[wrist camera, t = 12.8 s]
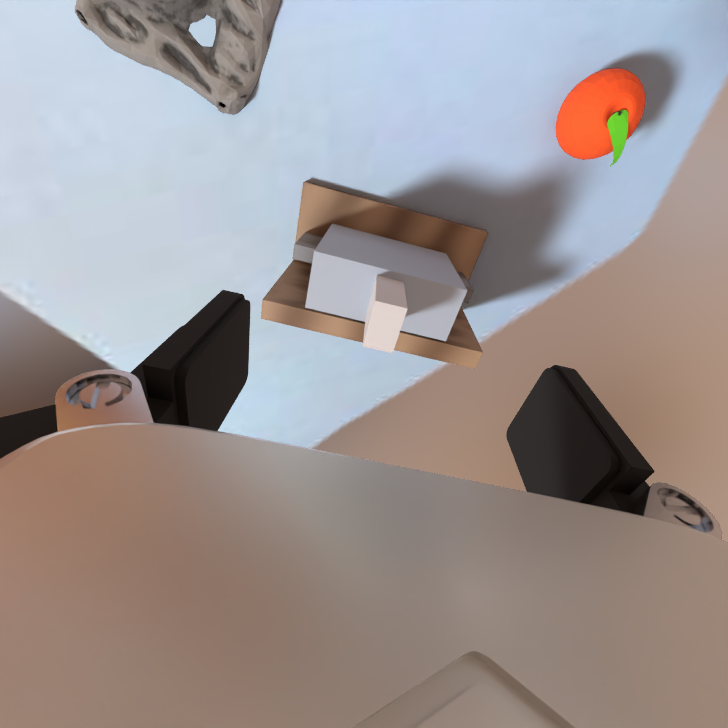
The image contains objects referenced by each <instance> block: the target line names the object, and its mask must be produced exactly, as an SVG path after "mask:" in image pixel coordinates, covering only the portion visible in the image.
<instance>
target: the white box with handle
mask: <svg viewBox="0 0 728 728" xmlns="http://www.w3.org/2000/svg"><path fill="white" fill-rule="evenodd" d="M466 293H467V288H466V287H465V285H464V283H463V282H462V280H461V278H460V276H459V275H458V273H457V271H456V270H455V268H454V266H453V264H452V263H451V261H450V259H449V258H448V256H447V254H446V253H442V252H438V251H435V250H431V249H427V248H423V247H420V246H416V245H412V244H408V243H404V242H401V241H397V240H393V239H389V238H385V237H382V236H378V235H374V234H370V233H367V232H363V231H359V230H355V229H351V228H348V227H344V226H340V225H336V224H332V225H331V226H330V228H329V229H328V231H327V232H326V234H325V235H324V237H323V238H322V240H321V241H320V243H319V244H318V246H317V247H316V249H315V250H314V255H313V261H312V267H311V274H310V280H309V286H308V292H307V299H306V305H305V308H309V309H313V310H318V311H322V312H326V313H330V314H334V315H338V316H342V317H347V318H351V319H355V320H359V321H363V322H365V329H364V338H363V346H364V347H368V348H373V349H377V350H381V351H385V352H390V353H393V351H394V348H395V345H396V342H397V339H398V336H399V333H400V330H401V331H405V332H409V333H413V334H417V335H421V336H425V337H430V338H434V339H438V340H442V341H446V340H447V338H448V335H449V333H450V331H451V328H452V326H453V323H454V321H455V319H456V316H457V314H458V312H459V309H460V307H461V305H462V302H463V300H464V297H465V295H466Z"/></svg>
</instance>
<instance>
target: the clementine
mask: <svg viewBox="0 0 728 728" xmlns="http://www.w3.org/2000/svg"><path fill="white" fill-rule="evenodd" d="M644 107H645V92H644V88H643V85H642V84H641V82H640V80H639V79H638V78H637V77H636V76H635V75H634V74H633V73H631V72H630V71H628V70H624V69H619V68H614V69H605V70H601V71H599V72H596V73H594V74H592V75H590V76H589V77H587V78H586V79H584V80H583V81H581V82H580V83H579V84H577V85H576V86H575V87H574V89H573V90H572V91H571V92H570V93H569V94H568V96H567V97H566V99H565V100H564V102H563V104H562V106H561V108H560V111H559V113H558V116H557V122H556V137H557V140H558V143H559V145H560V147H561V148H562V149H563V150H564V152H566V153H567V154H569V155H570V156H572V157H574V158H578V159H583V160H585V159H594V158H598V157H601V156H604V155H607V154H609V153H610V152H612V151H613V153H614V159H613V163H612V164H611V165H613V164H614V163H615V162H616V161H617V160H618V158H619V157H620V156H621V153H622V151H623V148H624V145H625V142H626V140H627V139H628V138H629V137H630V136H631V134H632V133H633V132H634V130H635V129H636V128H637V126H638V124H639V122H640V120H641V118H642V115H643V111H644ZM611 165H610V166H611Z"/></svg>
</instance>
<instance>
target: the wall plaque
mask: <svg viewBox="0 0 728 728" xmlns="http://www.w3.org/2000/svg"><path fill="white" fill-rule="evenodd" d="M280 3H281V0H77V4H76V6H75V13H76V14H77V16H78V18H79V19H80V21H81V23H82V24H83V25H84V26H85V27H86V28H87V29H89V30H91V31H92V32H93V33H95V34H96V35H97V36H98V37H99V38H100V39H101V40H102V41H103V42H104V43H105V44H106V45H107V46H108V47H110V48H111V49H113V50H114V51H116V52H118V53H121V54H123V55H125V56H126V57H128V58H130V59H132V60H134V61H136V62H138V63H140V64H142V65H145V66H149V67H152V68H154V69H157V70H159V71H161V72H163V73H165V74H168V75H170V76H172V77H174V78H175V79H177V80H180V81H181V82H182V83H184V84H185V85H187V86H189V87H190V88H192V89H193V90H194V91H196V92H197V93H198V94H200V95H201V96H203V97H204V98H205V99H207V100H208V101H209V102H210V103H212V104H213V105H215V106H216V107H217V108H218V110H219V111H220V112H222V113H228V114H233V115H234V114H237V113H238V112H239V111H240V110H241V109H243V108H244V106H245V102H246V101H247V99H248V98H249V97H250V95H251V94H252V92H253V90H254V88H255V86H256V84H257V82H258V79H259V76H260V73H261V70H262V67H263V64H264V61H265V58H266V55H267V51H268V48H269V36H270V32H271V30H272V27H273V24H274V20H275V18H276V15H277V12H278V9H279V6H280ZM206 14H207V15H208V16H210V17H212V18H214V19H216V36H215V41H214V44H213V47H204V46H201V45H200V44H199V43H198V42H197V41H196V40H195V38H194V37H193V36H192V35H191V33H190V32H189V31H188V30H189V27H190V24H191V23H193V22H197V21H199V20H201V19H203V18H205V16H206ZM85 19H86V20H85ZM219 102H222V103H223V104H225V105H226V107H225V108H223V107H221V106H220V105H219Z"/></svg>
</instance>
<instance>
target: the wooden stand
mask: <svg viewBox="0 0 728 728" xmlns="http://www.w3.org/2000/svg"><path fill="white" fill-rule="evenodd" d="M332 224H336V225H340V226H344V227H348V228H351V229H355V230H359V231H363V232H367V233H370V234H374V235H378V236H382V237H385V238H389V239H393V240H397V241H401V242H404V243H408V244H412V245H416V246H420V247H423V248H427V249H431V250H435V251H438V252H442V253H446V254H447V256H448V258H449V259H450V261H451V263H452V264H453V266H454V268H455V270H456V271H457V273H458V275H459V276H460V278H461V280H462V282H463V283H464V285H465V287H466V288H467V293H466V295H465V297H464V300H463V302H466V303H468V302H469V299H470V297H471V295H472V292H473V288H472V287H471V285H470V283H469V282H468V280H469V278H470V275H471V273H472V270H473V268H474V266H475V263H476V261H477V258H478V256H479V254H480V251H481V249H482V246H483V244H484V242H485V239H486V237H487V234H488V232H487V231H484V230H481V229H477V228H473V227H470V226H466V225H462V224H459V223H455V222H451V221H448V220H444V219H440V218H437V217H433V216H429V215H426V214H422V213H418V212H415V211H411V210H407V209H404V208H400V207H396V206H393V205H389V204H385V203H382V202H378V201H374V200H371V199H367V198H363V197H360V196H356V195H352V194H349V193H345V192H341V191H338V190H334V189H331V188H327V187H323V186H320V185H316V184H312V183H309V182H303V189H302V196H301V204H300V212H299V219H298V227H297V235H296V242H295V244H294V252H293V261H292V263H291V264H290V265H289V267H288V268H287V269H286V270H285V272H284V273H283V274H282V276H281V277H280V278H279V279H278V281H277V282H276V283H275V284H274V286H273V287H272V288H271V290H270V291H269V292H268V293H267V295H266V296H265V297H264V298H263V301H262V312H261V319H265V320H270V321H274V322H278V323H282V324H286V325H291V326H295V327H299V328H303V329H308V330H312V331H316V332H320V333H325V334H329V335H333V336H337V337H342V338H346V339H350V340H354V341H359V342H363V338H364V329H365V322H363V321H359V320H355V319H351V318H347V317H342V316H338V315H334V314H330V313H326V312H322V311H318V310H313V309H309V308H305V305H306V299H307V292H308V286H309V280H310V274H311V267H312V261H313V255H314V250H315V249H316V247H317V246H318V244H319V243H320V241H321V240H322V238H323V237H324V235H325V234H326V232H327V231H328V229H329V228H330V226H331V225H332ZM394 350H397V351H401V352H405V353H409V354H414V355H418V356H422V357H426V358H431V359H435V360H439V361H443V362H448V363H452V364H456V365H461V366H465V367H469V368H473V369H475V368H476V366H477V364H478V362H479V360H480V358H481V356H482V354H483V351H482V349H481V347H480V345H479V343H478V341H477V339H476V337H475V335H474V333H473V330H472V328H471V326H470V324H469V322H468V320H467V318H466V316H465V314H464V312H463V310H462V308H461V307H460V309H459V312H458V314H457V316H456V319H455V321H454V323H453V326H452V328H451V331H450V333H449V335H448V338H447V340H446V341H442V340H438V339H434V338H430V337H425V336H421V335H417V334H413V333H409V332H405V331H401V330H400V333H399V336H398V339H397V342H396V345H395V348H394Z"/></svg>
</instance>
